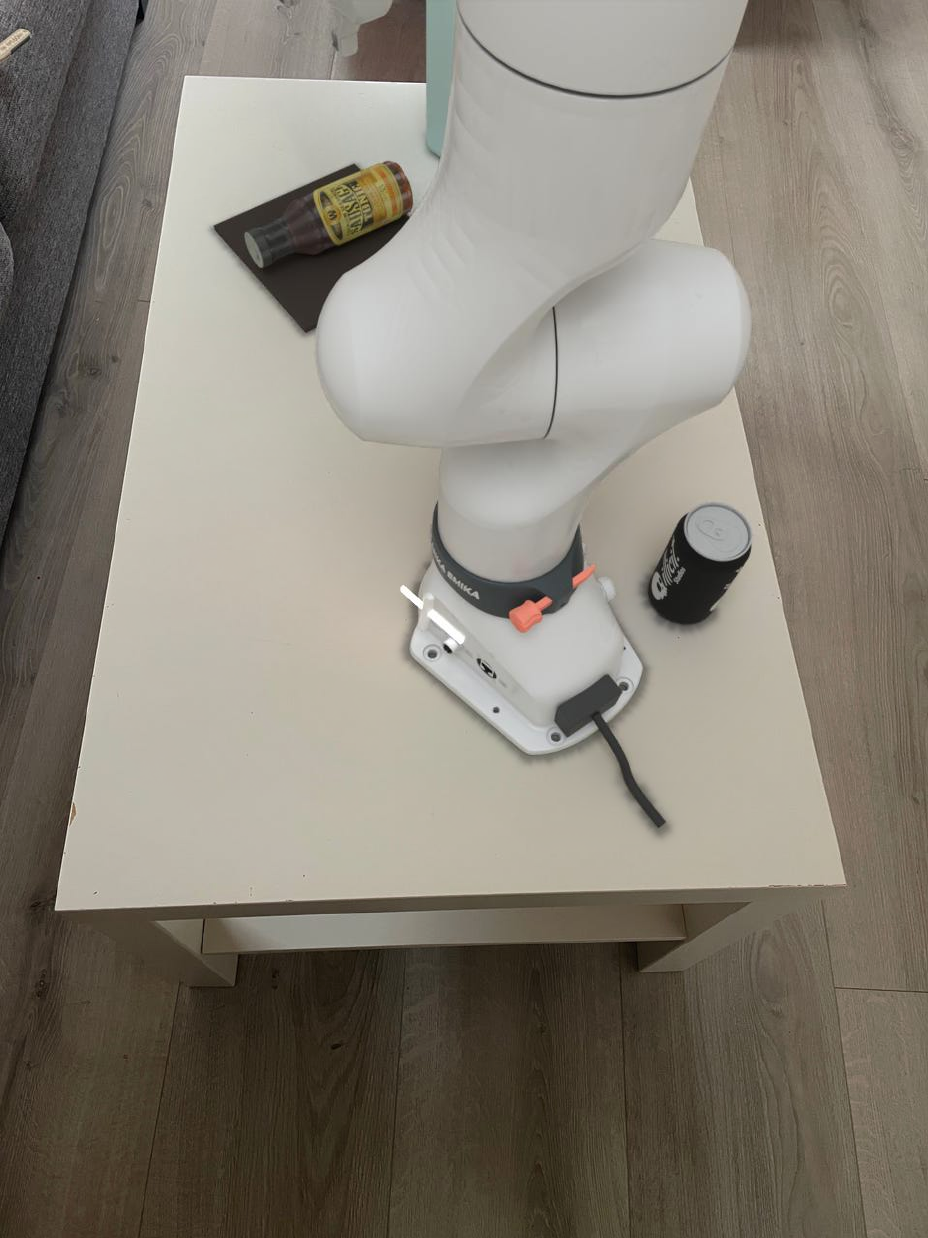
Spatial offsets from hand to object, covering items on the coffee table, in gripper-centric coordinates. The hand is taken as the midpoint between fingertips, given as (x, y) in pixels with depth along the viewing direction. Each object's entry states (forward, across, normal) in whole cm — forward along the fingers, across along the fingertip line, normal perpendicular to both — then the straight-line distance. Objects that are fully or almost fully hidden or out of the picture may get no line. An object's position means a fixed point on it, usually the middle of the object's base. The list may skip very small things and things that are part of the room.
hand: (316, 26), depth 78 cm
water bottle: (+25, -8, +24) cm, 35 cm away
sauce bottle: (+21, -2, +10) cm, 23 cm away
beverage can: (+26, +57, +1) cm, 63 cm away
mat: (+25, -2, 0) cm, 25 cm away
